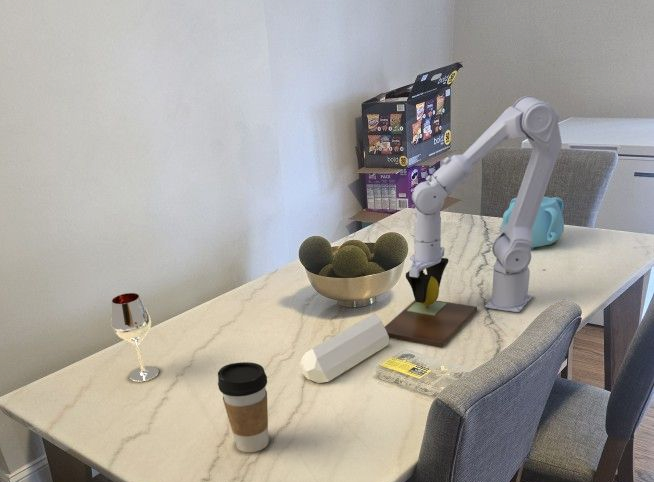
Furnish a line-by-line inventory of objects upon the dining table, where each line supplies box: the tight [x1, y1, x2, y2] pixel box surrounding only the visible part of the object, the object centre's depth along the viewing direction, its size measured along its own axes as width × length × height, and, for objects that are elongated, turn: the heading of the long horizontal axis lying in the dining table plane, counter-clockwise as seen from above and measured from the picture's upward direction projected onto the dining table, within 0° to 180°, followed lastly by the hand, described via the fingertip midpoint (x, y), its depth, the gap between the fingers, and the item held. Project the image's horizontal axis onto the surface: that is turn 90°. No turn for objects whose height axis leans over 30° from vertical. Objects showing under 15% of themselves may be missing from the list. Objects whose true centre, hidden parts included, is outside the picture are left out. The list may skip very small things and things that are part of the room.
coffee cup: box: [217, 361, 270, 453], centre depth 120 cm, size 8×8×15 cm
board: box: [384, 300, 478, 348], centre depth 157 cm, size 20×15×1 cm
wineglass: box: [110, 292, 160, 383], centre depth 146 cm, size 8×8×18 cm
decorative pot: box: [500, 196, 565, 251], centre depth 189 cm, size 16×16×14 cm
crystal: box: [299, 313, 390, 384], centre depth 145 cm, size 7×7×24 cm
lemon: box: [420, 273, 440, 307], centre depth 159 cm, size 6×6×8 cm
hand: (427, 295), depth 160 cm, fingers open, 7 cm apart
